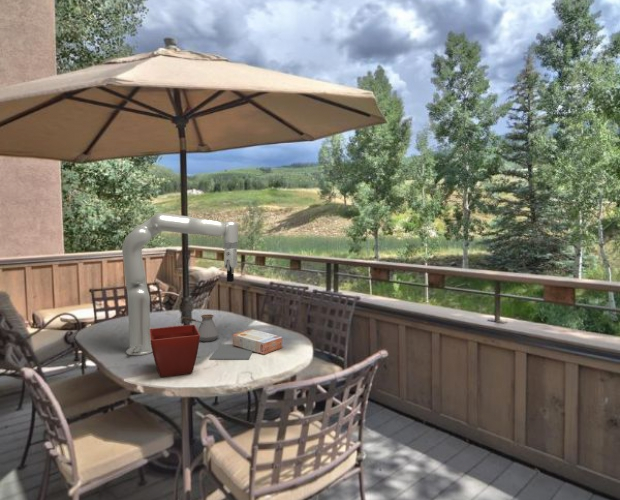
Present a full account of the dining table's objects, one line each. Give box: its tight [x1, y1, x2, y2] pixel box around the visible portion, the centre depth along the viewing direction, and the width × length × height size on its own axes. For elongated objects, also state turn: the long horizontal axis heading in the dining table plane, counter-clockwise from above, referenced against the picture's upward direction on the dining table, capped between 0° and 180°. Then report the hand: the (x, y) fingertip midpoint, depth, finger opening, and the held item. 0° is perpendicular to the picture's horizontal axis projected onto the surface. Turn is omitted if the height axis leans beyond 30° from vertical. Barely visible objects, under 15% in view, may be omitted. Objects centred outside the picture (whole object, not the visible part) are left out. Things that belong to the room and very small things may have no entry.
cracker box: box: [232, 328, 283, 355], centre depth 217 cm, size 14×6×21 cm
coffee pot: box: [179, 314, 219, 343], centre depth 227 cm, size 21×12×15 cm, turn 136°
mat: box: [208, 343, 254, 361], centre depth 211 cm, size 22×18×1 cm
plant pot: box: [150, 324, 200, 378], centre depth 185 cm, size 19×19×17 cm
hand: (230, 281), depth 226 cm, fingers closed
